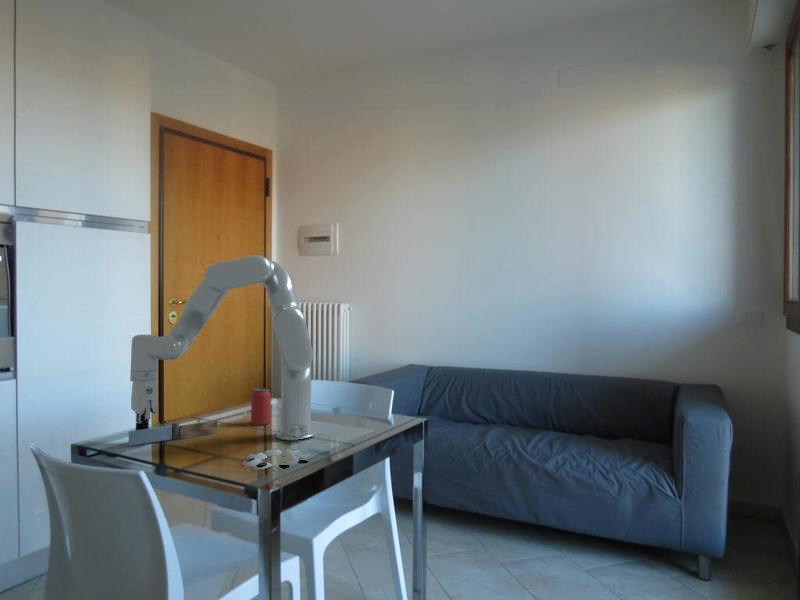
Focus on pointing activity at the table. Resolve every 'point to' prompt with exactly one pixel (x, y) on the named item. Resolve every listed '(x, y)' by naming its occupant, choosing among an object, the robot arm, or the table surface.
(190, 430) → the hinge frame
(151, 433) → the hinged leaf
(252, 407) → the beer can
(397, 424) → the table surface
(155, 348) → the robot arm
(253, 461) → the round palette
